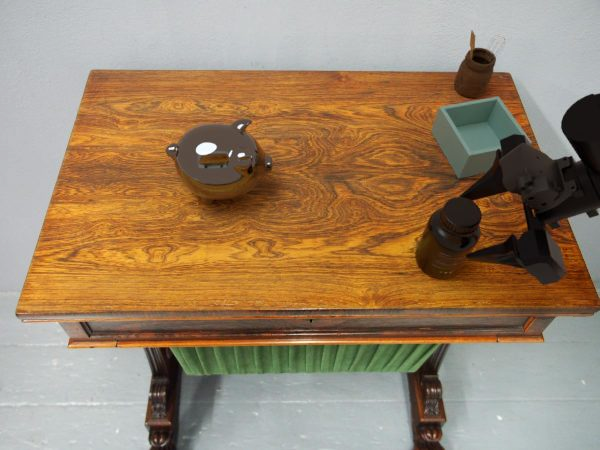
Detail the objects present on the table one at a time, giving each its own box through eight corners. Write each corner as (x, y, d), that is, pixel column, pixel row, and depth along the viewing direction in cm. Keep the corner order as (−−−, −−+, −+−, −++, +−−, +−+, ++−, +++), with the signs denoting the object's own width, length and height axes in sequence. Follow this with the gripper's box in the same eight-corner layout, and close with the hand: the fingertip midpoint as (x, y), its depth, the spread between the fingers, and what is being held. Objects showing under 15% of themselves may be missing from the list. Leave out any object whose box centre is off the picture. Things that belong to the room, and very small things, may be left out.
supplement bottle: (410, 239, 73) (431, 188, 63) (456, 239, 73) (484, 189, 63) (417, 280, 69) (440, 234, 59) (465, 280, 69) (496, 234, 59)
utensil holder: (489, 97, 91) (515, 40, 81) (457, 100, 90) (479, 43, 80) (478, 76, 94) (502, 19, 84) (447, 78, 93) (467, 21, 83)
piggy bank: (274, 215, 75) (273, 164, 65) (173, 218, 74) (157, 167, 64) (272, 158, 81) (271, 105, 71) (178, 161, 80) (165, 107, 70)
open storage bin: (487, 120, 87) (498, 96, 83) (518, 166, 82) (532, 142, 77) (430, 131, 86) (439, 106, 81) (458, 178, 80) (469, 155, 75)
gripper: (551, 80, 55) (427, 139, 65) (590, 216, 45) (436, 264, 54) (585, 136, 62) (468, 183, 71) (626, 267, 51) (483, 302, 61)
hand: (463, 227), depth 64 cm, fingers open, 9 cm apart
